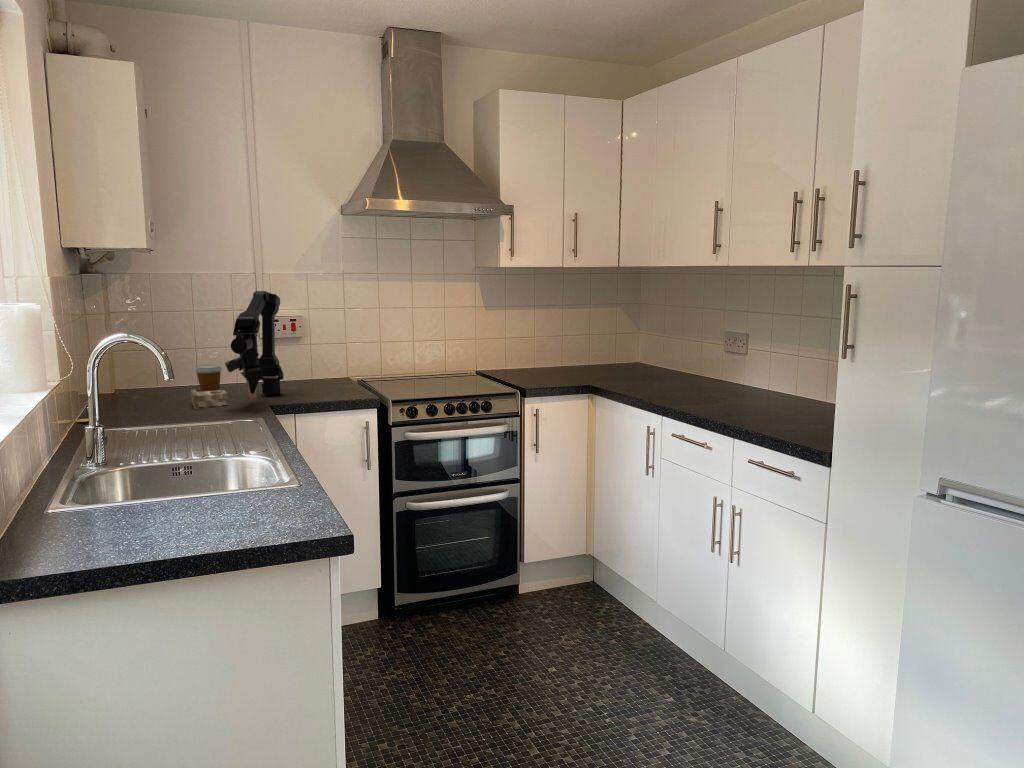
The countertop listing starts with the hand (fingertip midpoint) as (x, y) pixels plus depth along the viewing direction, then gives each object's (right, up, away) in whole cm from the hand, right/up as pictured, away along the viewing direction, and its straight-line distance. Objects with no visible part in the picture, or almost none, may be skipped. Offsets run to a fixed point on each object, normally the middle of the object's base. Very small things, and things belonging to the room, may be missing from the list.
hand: (251, 392), depth 276 cm
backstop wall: (-21, -5, +2) cm, 22 cm away
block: (-16, -5, +4) cm, 17 cm away
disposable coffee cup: (-23, -2, +20) cm, 30 cm away
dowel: (0, -2, 0) cm, 2 cm away
